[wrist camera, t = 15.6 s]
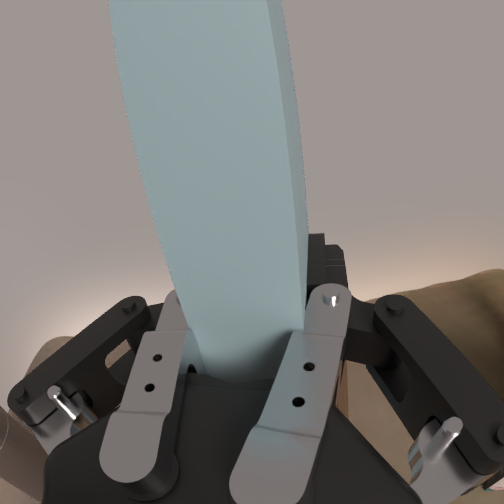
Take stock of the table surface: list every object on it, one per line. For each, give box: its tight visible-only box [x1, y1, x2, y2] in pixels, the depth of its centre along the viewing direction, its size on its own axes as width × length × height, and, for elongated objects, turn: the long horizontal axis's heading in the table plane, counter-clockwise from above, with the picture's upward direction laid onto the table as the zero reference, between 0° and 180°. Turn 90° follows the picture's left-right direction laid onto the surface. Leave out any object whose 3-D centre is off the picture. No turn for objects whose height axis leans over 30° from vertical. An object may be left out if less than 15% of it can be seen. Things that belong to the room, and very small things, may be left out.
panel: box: [109, 0, 309, 383], centre depth 12 cm, size 3×6×26 cm, turn 171°
